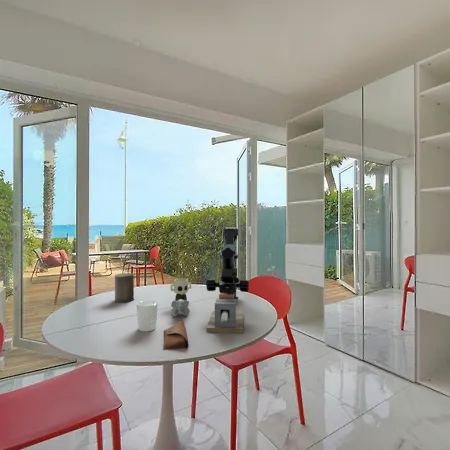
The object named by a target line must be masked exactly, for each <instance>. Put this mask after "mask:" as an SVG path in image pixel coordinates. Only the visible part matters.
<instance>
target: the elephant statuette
mask: <svg viewBox="0 0 450 450" xmlns="http://www.w3.org/2000/svg"><path fill="white" fill-rule="evenodd" d="M170 304H171V307H172V308H173V309H172V314H171V315H172V318H173V317H174V318H176V317H177V315H178V314H181V312H182V313H183V316H184V317H188V316H189V315H190V314H189V313H190V309H189V305H190V301H189V300H188V299H187V300H185V301H184V300H182V299H180V300H178V301H175V299H174V300H172V302H171V303H170Z"/></svg>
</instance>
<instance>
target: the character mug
mask: <svg viewBox="0 0 450 450" xmlns="http://www.w3.org/2000/svg"><path fill="white" fill-rule="evenodd" d="M190 289H192V282H189V279H188V278H176V279H174V280H173V283H172V284H170V291H171V292H174V293H175V299H174V300H175V301H178V300H180V299H182V300H184V301H185V300H187V301H188V298H187V293H188V292H189V290H190Z"/></svg>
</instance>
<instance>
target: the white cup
mask: <svg viewBox="0 0 450 450" xmlns="http://www.w3.org/2000/svg"><path fill="white" fill-rule="evenodd" d="M136 317H137V318H136V319H137V330H138V331H140V332H145V333H146V332H151V331H154V330H155V329H156V328H157V320H158V318H157V317H158V301H157V300H152V299H151V300H141V301H138V302H137V303H136Z"/></svg>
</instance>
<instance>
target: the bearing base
mask: <svg viewBox="0 0 450 450" xmlns="http://www.w3.org/2000/svg"><path fill="white" fill-rule="evenodd" d="M222 309H223V310H229V313H228V318H227V322H225V323H223V322H221V315H222ZM205 328H206V331H205V332H206V333H207V332H208V333H231V332H233V334H234V333H236V334H237V333H238V334H241V333H242V334H244V311H237V298H236V299H219V298H216V299H215V302H214V310H212V311H211V314H210V317H209V320H208V323H207V325H206V327H205Z"/></svg>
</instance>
